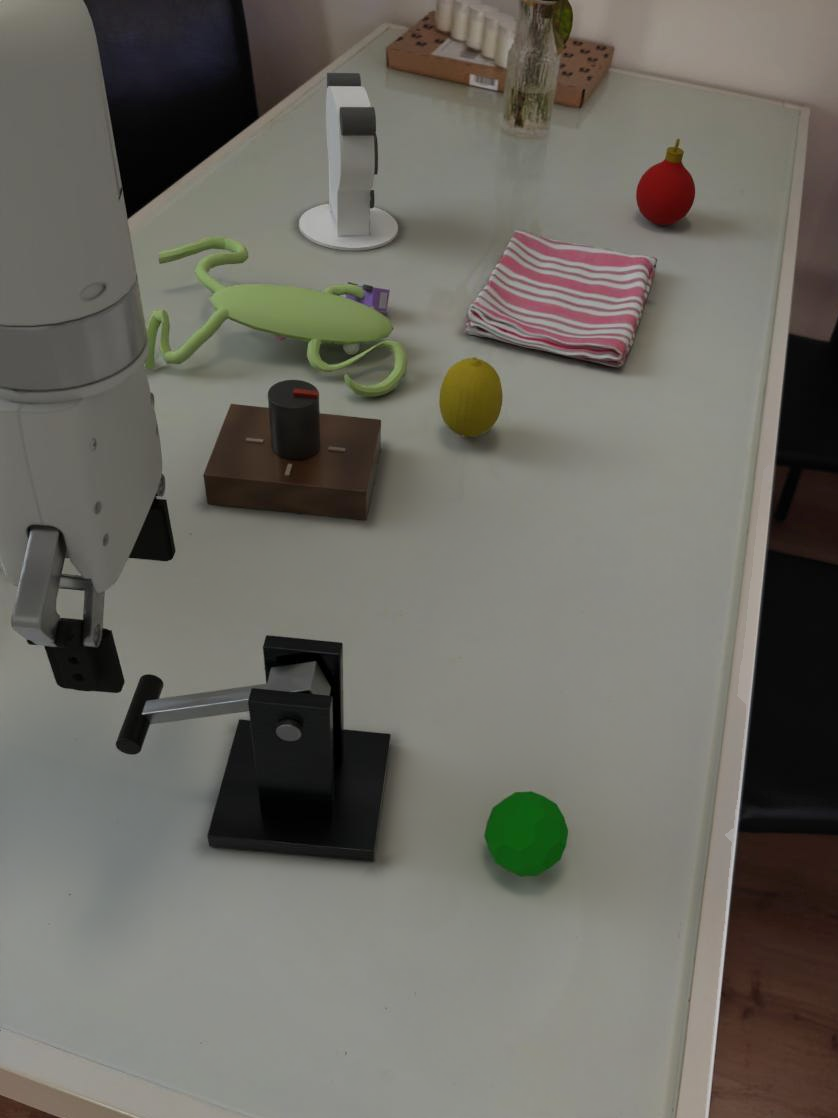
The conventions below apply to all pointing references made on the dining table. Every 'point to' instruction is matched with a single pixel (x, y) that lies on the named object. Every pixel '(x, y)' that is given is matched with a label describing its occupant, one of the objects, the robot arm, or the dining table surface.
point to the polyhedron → (526, 833)
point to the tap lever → (207, 701)
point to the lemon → (470, 397)
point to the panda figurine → (349, 173)
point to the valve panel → (294, 466)
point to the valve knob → (294, 419)
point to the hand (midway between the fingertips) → (121, 617)
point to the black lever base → (301, 768)
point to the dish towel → (564, 299)
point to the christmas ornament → (666, 189)
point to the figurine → (285, 315)
